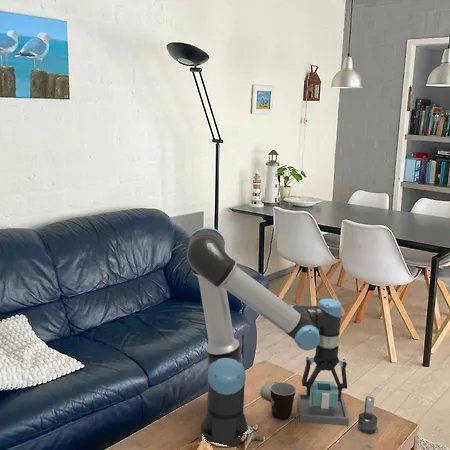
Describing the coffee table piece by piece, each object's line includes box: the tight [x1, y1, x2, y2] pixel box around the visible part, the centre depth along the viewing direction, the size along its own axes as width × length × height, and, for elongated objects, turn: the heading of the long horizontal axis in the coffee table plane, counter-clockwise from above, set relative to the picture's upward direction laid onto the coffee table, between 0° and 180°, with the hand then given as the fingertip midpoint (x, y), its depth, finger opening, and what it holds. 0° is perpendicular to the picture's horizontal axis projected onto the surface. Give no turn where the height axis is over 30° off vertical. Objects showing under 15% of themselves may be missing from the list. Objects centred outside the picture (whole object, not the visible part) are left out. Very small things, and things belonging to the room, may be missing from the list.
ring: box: [312, 380, 337, 409], centre depth 183 cm, size 9×8×5 cm
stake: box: [357, 395, 378, 435], centre depth 175 cm, size 6×6×11 cm
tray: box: [297, 393, 350, 426], centre depth 185 cm, size 16×14×2 cm
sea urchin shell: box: [260, 380, 279, 401], centre depth 194 cm, size 9×8×8 cm
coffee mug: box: [270, 381, 297, 421], centre depth 183 cm, size 12×9×10 cm
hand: (322, 404), depth 184 cm, fingers closed on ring, 8 cm apart
